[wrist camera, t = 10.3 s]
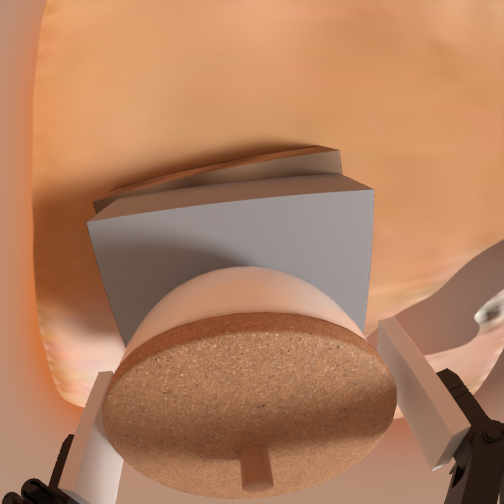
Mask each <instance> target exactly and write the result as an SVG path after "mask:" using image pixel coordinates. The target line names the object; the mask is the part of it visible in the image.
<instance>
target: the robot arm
mask: <svg viewBox="0 0 504 504" xmlns="http://www.w3.org/2000/svg"><path fill="white" fill-rule="evenodd" d="M377 352H378V353H379V354H380V356H381V358H382V359H383V361H384V362H385V364H386V366H387V367H388V369H389V371H390V372H391V374H392V376H393V378H394V381H395V385H396V389H397V403H398V405H399V407H400V409H401V411H402V413H403V415H404V417H405V418H406V420H407V422H408V424H409V426H410V428H411V430H412V432H413V434H414V436H415V437H416V440H417V442H418V444H419V446H420V448H421V450H422V452H423V454H424V456H425V458H426V460H427V462H428V464H429V466H430V468H431V470H432V471H433V470H436V469H438V468H439V467H442V466H444V465H445V464H447V463H449V462H450V460H451V459H452V457H454V459H455V461H456V463H455V465H454V466H453V468H452V469H451V471H450V473H449V474H452V473H453V475H452V478H451V482H450V486H449V489H448V493H447V496H446V499H445V502H444V504H497V500H498V496H499V494H500V504H504V423H501V422H499V421H495V420H491V419H490V418H489V417H488V416H487V415H486V414H485V412H484V411H483V409H482V408H481V407H480V405H479V404H478V402H477V401H476V400H475V398H474V397H473V395H472V394H471V392H469V390H468V388H467V387H466V386H465V385H464V383H463V382H462V380H461V379H460V378H459V376H458V375H457V374H456V373H454V372H452V371H451V370H449V369H448V368H447V369H444V370H442V371H440V372H437V373H435V371H434V370H433V368H432V367H431V366H430V364H429V363H428V362H427V360H426V359H425V357H424V356H423V355H422V353H421V352H420V351H419V349H418V348H417V346H416V345H415V344H414V343H413V341H412V340H411V338H410V337H409V336H408V335H407V333H406V332H405V330H404V329H403V328H402V327H401V325H400V324H399V323H398V321H397V320H396V319H395V317H394V316H393V317H390V318H387V319H383V320H380V321H379V326H378V345H377ZM113 375H114V374H113V372H112V371H107V372H99V373H98V376H97V378H96V381H95V383H94V385H93V388H92V390H91V393H90V395H89V398H88V401H87V403H86V406H85V408H84V411H83V414H82V416H81V419H80V422H79V425H78V427H77V430H76V433H75V435H72V434H69V436H68V437H67V438H66V439H65V441H64V442H63V444H62V447H61V450H60V454H59V455H58V458H57V460H58V461H56V464H55V467H54V470H53V473H52V476H51V479H50V482H49V486H46V485H45V484H44V483H43V482H41V481H40V480H39V479H35V478H33V479H29V480H27V481H26V482H25V483H24V484H23V486H22V489H21V496H22V497H23V498H22V497H21V496H20V495H18V494H17V493H15V492H9V493H7V494H6V495H5V496H4V498H3V500H2V504H115V502H116V496H117V491H118V485H119V480H120V474H121V470H122V465H123V460H124V459H123V458H122V457H121V456H120V455H119V454H118V453H117V452H116V450H115V449H114V448H113V446H112V444H111V442H110V441H109V439H108V437H107V435H106V433H105V429H104V426H103V423H102V405H103V401H104V397H105V394H106V391H107V388H108V385H109V382H110V380H111V378H112V376H113Z"/></svg>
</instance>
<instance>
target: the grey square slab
mask: <svg viewBox="0 0 504 504" xmlns="http://www.w3.org/2000/svg"><path fill="white" fill-rule="evenodd" d="M373 216H374V189H372V188H370V187H368V186H366V185H364V184H361V183H359V182H357V181H355V180H353V179H351V178H349V177H346V176H344V175H342V174H340V173H338V174H321V175H306V176H293V177H280V178H269V179H258V180H248V181H239V182H230V183H221V184H213V185H204V186H197V187H189V188H182V189H175V190H168V191H161V192H154V193H148V194H142V195H136V196H130V197H124V198H118V199H117V200H115V201H114V202H112V203H111V204H110V205H108V206H107V207H106V208H104V209H103V210H102V211H100V212H99V213H98V214H97V215H95V216H94V217H93V218H91V219H90V220H89V221H87V226H88V231H89V235H90V239H91V242H92V246H93V250H94V254H95V257H96V261H97V264H98V268H99V271H100V275H101V278H102V281H103V284H104V288H105V291H106V294H107V297H108V300H109V303H110V306H111V309H112V312H113V315H114V317H115V320H116V323H117V326H118V329H119V331H120V334H121V337H122V339H123V342H124V344H125V347H126V348H127V345H128V343H129V341H130V340H131V338H132V337H133V335H134V333H135V332H136V330H137V329H138V327H139V325H140V324H141V322H142V321H143V319H144V318H145V316H146V315H147V314H148V313H149V312H150V311H151V310H152V309H153V307H154V306H155V305H156V304H157V303H158V302H159V301H160V300H161V299H162V298H163V297H164V296H165V295H166V294H168V293H169V292H171V291H172V290H173V289H175V288H176V287H178V286H179V285H181V284H183V283H185V282H187V281H189V280H191V279H193V278H195V277H197V276H199V275H201V274H204V273H207V272H211V271H214V270H217V269H223V268H229V267H239V266H255V267H264V268H271V269H274V270H278V271H282V272H285V273H289V274H292V275H294V276H296V277H299V278H301V279H303V280H305V281H308V282H309V283H311V284H312V285H314V286H315V287H317V288H318V289H320V290H321V291H323V292H324V293H325V294H327V295H328V296H329V297H331V298H332V299H333V300H334V301H335V302H336V303H337V304H338V305H339V306H340V307H341V308H342V309H343V310H344V311H345V312H346V313H347V314H348V315H349V316H350V317H351V319H352V320H353V321H354V322H355V323H356V325H357V326H358V328H359V329H360V331H361V332H362V333H364V326H365V318H366V309H367V301H368V291H369V281H370V269H371V255H372V239H373Z"/></svg>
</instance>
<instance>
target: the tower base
mask: <svg viewBox="0 0 504 504" xmlns="http://www.w3.org/2000/svg"><path fill="white" fill-rule="evenodd" d="M338 173H340V174H342V165H341V157H340V150H337V149H332V148H328V147H324V146H316V147H308V148H301V149H295V150H288V151H282V152H276V153H270V154H264V155H258V156H253V157H247V158H242V159H237V160H232V161H227V162H222V163H217V164H212V165H207V166H203V167H198V168H194V169H189V170H185V171H181V172H177V173H172V174H168V175H164V176H160V177H156V178H152V179H149V180H145V181H141V182H137V183H134V184H130V185H126V186H123V187H119V188H116V189H113V190H111V191H110V192H108V193H107V194H105V195H103V196H102V197H100V198H98V199H97V200H95V201H94V202H93V204H94V208H95V211H96V215H97V214H98V213H99V212H100V211H102V210H103V209H104V208H106V207H107V206H108V205H110V204H111V203H112V202H114V201H115V200H117V199H118V198H124V197H130V196H136V195H142V194H148V193H154V192H161V191H168V190H175V189H182V188H189V187H197V186H204V185H213V184H221V183H230V182H239V181H248V180H258V179H269V178H280V177H293V176H306V175H321V174H338ZM342 175H343V174H342Z"/></svg>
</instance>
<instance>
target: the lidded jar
mask: <svg viewBox="0 0 504 504" xmlns="http://www.w3.org/2000/svg"><path fill="white" fill-rule="evenodd" d="M396 405H397V389H396V385H395V381H394V378H393V376H392V374H391V372H390V371H389V369H388V367H387V366H386V364H385V362H384V361H383V359H382V358H381V356H380V354H379V353H378V352H377V351H376V350H375V349H374V348H373V347H372V346H371V345H370V344H369V343H368V341H367V340H366V338H365V337H364V335H363V333H362V332H361V331H360V329H359V328H358V326H357V325H356V323H355V322H354V321H353V320H352V319H351V317H350V316H349V315H348V314H347V313H346V312H345V311H344V310H343V309H342V308H341V307H340V306H339V305H338V304H337V303H336V302H335V301H334V300H333V299H332V298H331V297H329V296H328V295H327V294H325V293H324V292H323V291H321V290H320V289H318V288H317V287H315V286H314V285H312V284H311V283H309V282H308V281H305V280H303V279H301V278H299V277H296V276H294V275H292V274H289V273H285V272H282V271H278V270H274V269H271V268H264V267H255V266H239V267H229V268H223V269H217V270H214V271H211V272H207V273H204V274H201V275H199V276H197V277H195V278H193V279H191V280H189V281H187V282H185V283H183V284H181V285H179V286H178V287H176V288H175V289H173V290H172V291H171V292H169V293H168V294H166V295H165V296H164V297H163V298H162V299H161V300H160V301H159V302H158V303H157V304H156V305H155V306H154V307H153V309H152V310H151V311H150V312H149V313H148V314H147V315H146V316H145V318H144V319H143V321H142V322H141V324H140V325H139V327H138V329H137V330H136V332H135V333H134V335H133V337H132V338H131V340H130V341H129V343H128V345H127V348H126V350H125V352H124V354H123V357H122V359H121V362H120V365H119V367H118V368H117V370H116V371H115V373H114V375H113V376H112V378H111V380H110V382H109V385H108V388H107V391H106V394H105V397H104V401H103V405H102V423H103V426H104V429H105V433H106V435H107V437H108V439H109V441H110V442H111V444H112V446H113V448H114V449H115V450H116V452H117V453H118V454H119V455H120V456H121V457H122V458H123V459H124V460H125V461H126V462H127V463H128V464H129V465H130V466H132V467H133V468H134V469H136V470H137V471H139V472H140V473H142V474H143V475H145V476H146V477H148V478H150V479H152V480H154V481H156V482H158V483H160V484H162V485H165V486H168V487H170V488H173V489H176V490H179V491H183V492H186V493H190V494H194V495H200V496H206V497H214V498H223V499H253V498H265V497H272V496H277V495H283V494H287V493H292V492H296V491H299V490H302V489H305V488H308V487H311V486H314V485H316V484H319V483H321V482H324V481H326V480H328V479H330V478H332V477H334V476H336V475H338V474H340V473H342V472H343V471H345V470H347V469H348V468H349V467H351V466H353V465H354V464H356V463H357V462H358V461H360V460H361V459H362V458H363V457H364V456H365V455H367V454H368V453H369V452H370V451H371V450H372V449H373V448H374V447H375V446H376V445H377V444H378V442H379V441H380V440H381V439H382V437H383V436H384V434H385V433H386V431H387V430H388V428H389V426H390V424H391V422H392V420H393V416H394V413H395V409H396Z"/></svg>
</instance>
